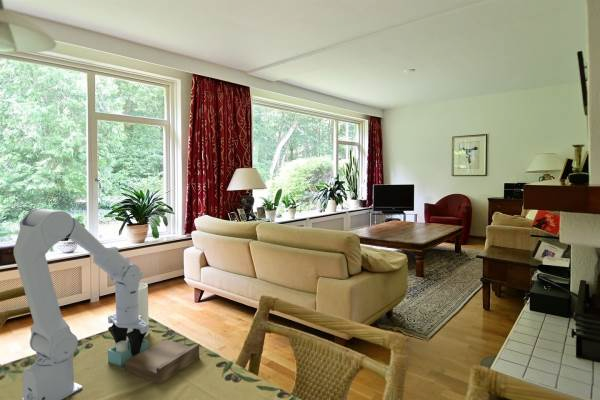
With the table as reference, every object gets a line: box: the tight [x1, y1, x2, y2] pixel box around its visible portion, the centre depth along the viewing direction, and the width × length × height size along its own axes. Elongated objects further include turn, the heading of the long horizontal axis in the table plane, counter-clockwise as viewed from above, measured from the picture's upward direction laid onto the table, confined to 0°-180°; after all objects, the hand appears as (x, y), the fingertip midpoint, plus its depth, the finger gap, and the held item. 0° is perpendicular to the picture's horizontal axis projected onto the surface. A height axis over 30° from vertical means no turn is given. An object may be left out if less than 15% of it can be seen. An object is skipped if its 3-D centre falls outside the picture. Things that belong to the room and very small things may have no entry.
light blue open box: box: [107, 338, 150, 368], centre depth 102 cm, size 9×5×5 cm, turn 153°
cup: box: [126, 282, 150, 341], centre depth 114 cm, size 8×8×16 cm
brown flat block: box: [124, 339, 200, 385], centre depth 98 cm, size 14×13×4 cm
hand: (128, 351), depth 102 cm, fingers closed on light blue open box, 5 cm apart
